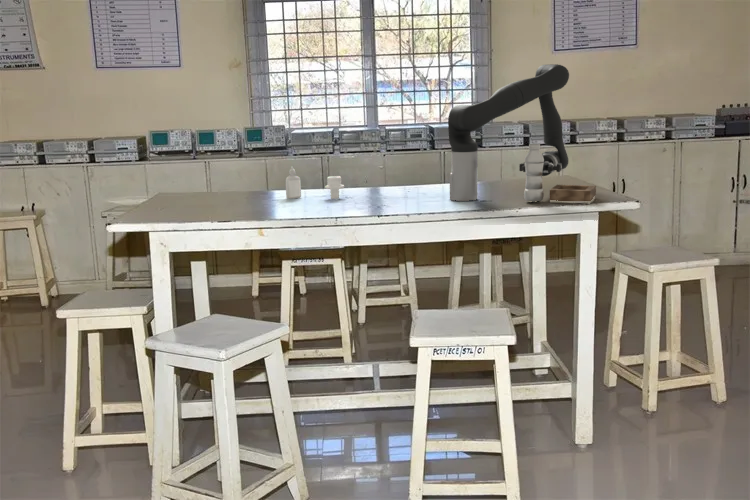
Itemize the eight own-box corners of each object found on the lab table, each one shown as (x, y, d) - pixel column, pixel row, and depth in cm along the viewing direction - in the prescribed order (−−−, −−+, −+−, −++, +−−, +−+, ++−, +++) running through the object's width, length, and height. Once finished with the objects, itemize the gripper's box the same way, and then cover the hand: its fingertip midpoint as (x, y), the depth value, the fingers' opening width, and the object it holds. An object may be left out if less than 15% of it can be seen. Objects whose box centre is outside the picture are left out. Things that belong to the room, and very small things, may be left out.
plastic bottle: (538, 204, 250) (539, 145, 246) (520, 203, 254) (521, 144, 250) (546, 202, 255) (548, 143, 251) (528, 200, 259) (529, 143, 255)
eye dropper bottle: (301, 198, 280) (299, 166, 277) (286, 199, 279) (284, 167, 277) (301, 196, 284) (299, 165, 281) (286, 197, 283) (284, 166, 281)
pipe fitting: (333, 200, 273) (332, 178, 271) (322, 198, 279) (321, 177, 277) (347, 198, 277) (346, 176, 275) (336, 196, 282) (336, 175, 281)
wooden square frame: (549, 202, 253) (549, 189, 252) (556, 197, 265) (557, 184, 264) (590, 204, 248) (590, 190, 247) (595, 198, 260) (596, 185, 259)
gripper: (526, 154, 273) (516, 158, 258) (565, 154, 267) (557, 158, 252) (526, 174, 274) (515, 179, 260) (565, 175, 268) (557, 180, 254)
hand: (536, 169), depth 256 cm, fingers open, 8 cm apart
